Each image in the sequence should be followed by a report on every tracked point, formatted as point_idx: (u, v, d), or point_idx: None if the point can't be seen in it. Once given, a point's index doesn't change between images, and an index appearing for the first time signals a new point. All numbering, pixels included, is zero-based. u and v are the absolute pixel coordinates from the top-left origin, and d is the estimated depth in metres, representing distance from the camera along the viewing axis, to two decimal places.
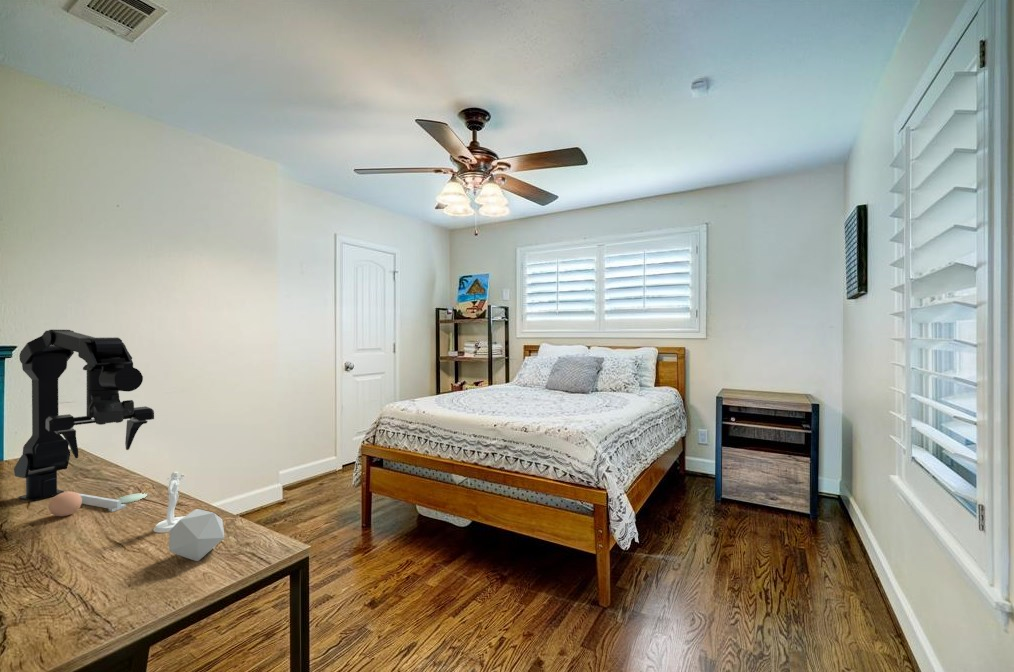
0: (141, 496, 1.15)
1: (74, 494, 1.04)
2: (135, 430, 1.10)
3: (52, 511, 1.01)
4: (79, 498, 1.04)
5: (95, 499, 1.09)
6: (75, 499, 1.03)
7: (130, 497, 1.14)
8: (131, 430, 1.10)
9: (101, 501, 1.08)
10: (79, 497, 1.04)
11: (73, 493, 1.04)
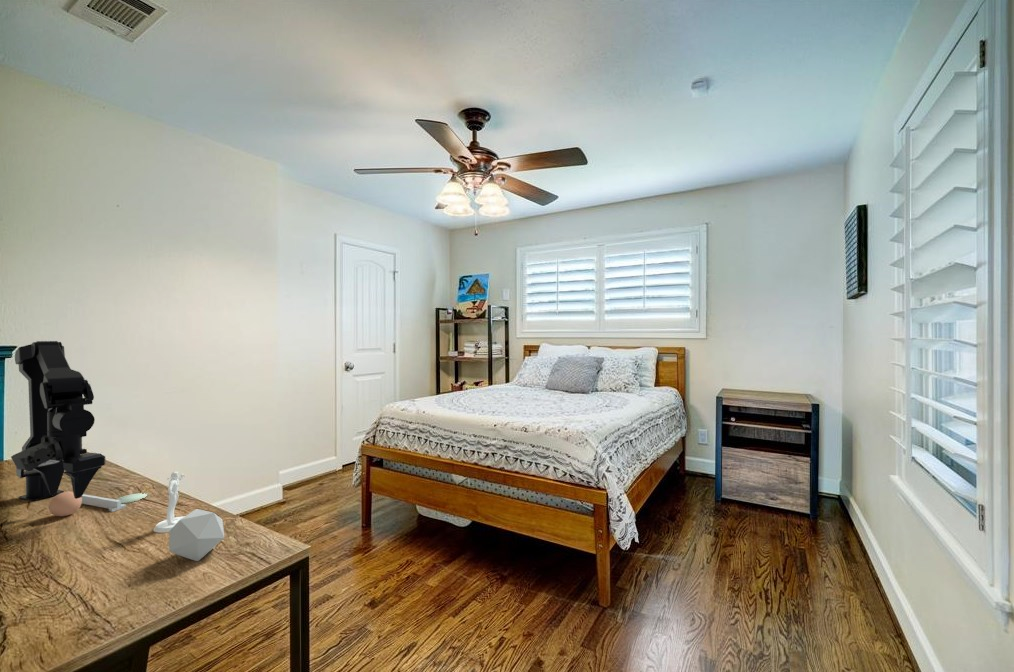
0: (141, 496, 1.15)
1: None
2: (73, 479, 1.00)
3: (52, 511, 1.01)
4: (79, 498, 1.04)
5: (95, 499, 1.09)
6: (75, 499, 1.03)
7: (130, 497, 1.14)
8: (71, 478, 1.00)
9: (101, 501, 1.08)
10: None
11: None
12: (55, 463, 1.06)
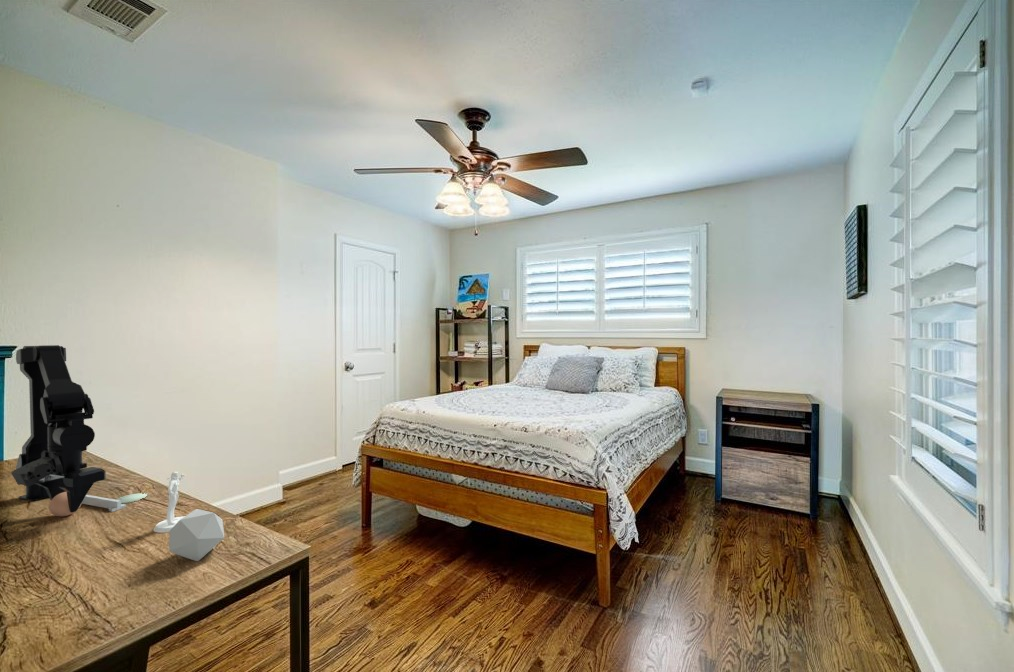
0: (141, 496, 1.15)
1: None
2: (69, 493, 1.01)
3: (52, 511, 1.01)
4: None
5: (95, 499, 1.09)
6: None
7: (130, 497, 1.14)
8: (67, 492, 1.01)
9: (101, 501, 1.08)
10: None
11: None
12: (60, 478, 1.05)
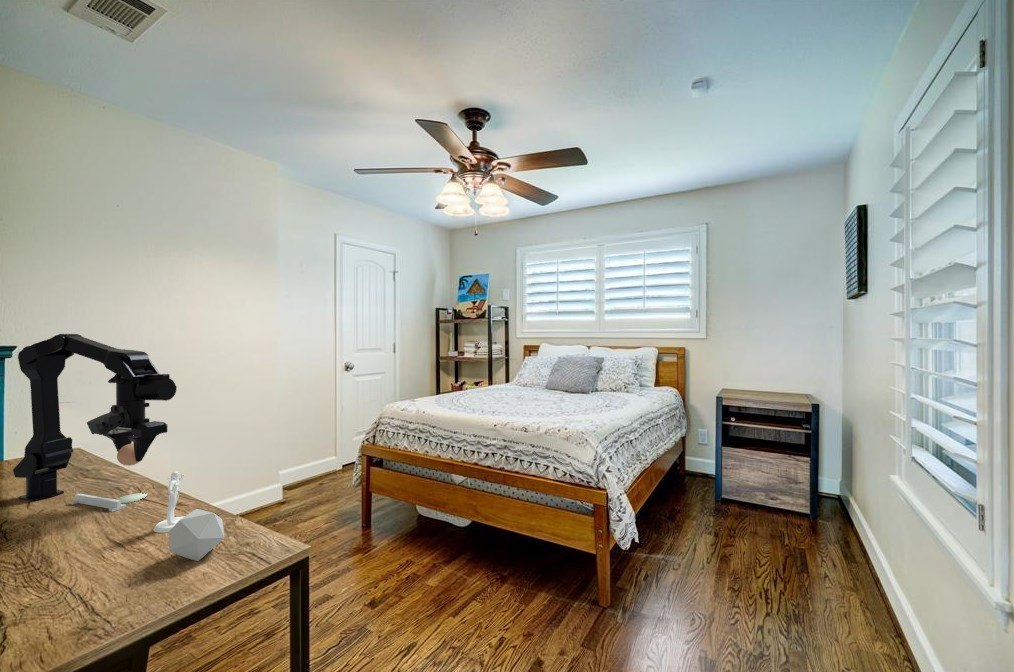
0: (141, 496, 1.15)
1: None
2: (135, 444, 1.11)
3: (120, 460, 1.11)
4: None
5: (95, 499, 1.09)
6: None
7: (130, 497, 1.14)
8: (133, 443, 1.11)
9: (101, 501, 1.08)
10: None
11: None
12: (125, 432, 1.16)
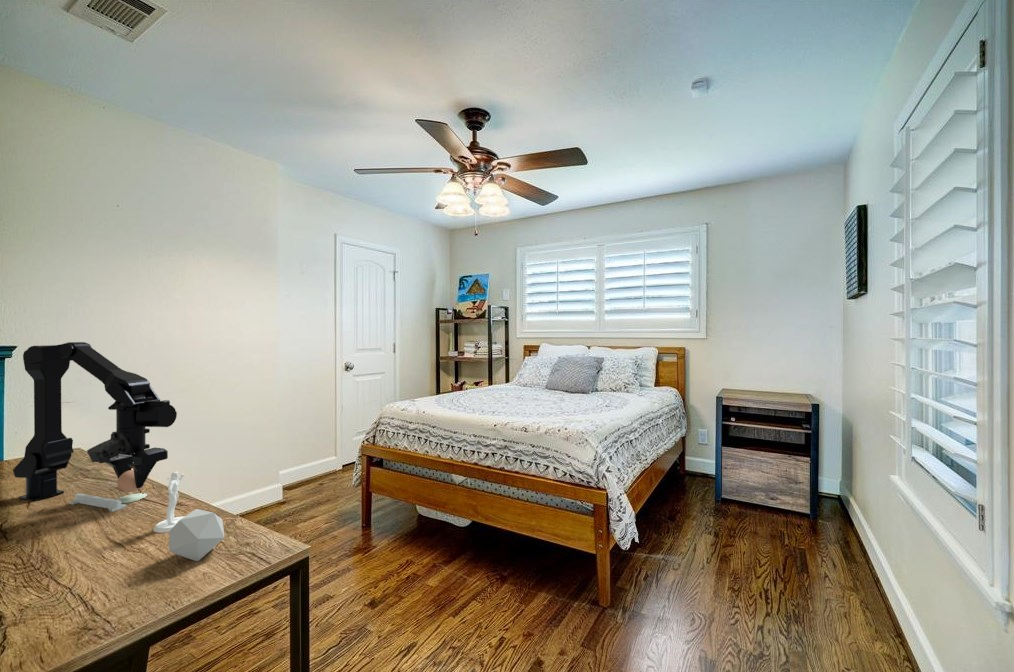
0: (141, 496, 1.15)
1: None
2: (136, 471, 1.11)
3: (120, 487, 1.11)
4: None
5: (95, 499, 1.09)
6: None
7: (130, 497, 1.14)
8: (134, 470, 1.11)
9: (101, 501, 1.08)
10: None
11: None
12: (125, 458, 1.16)
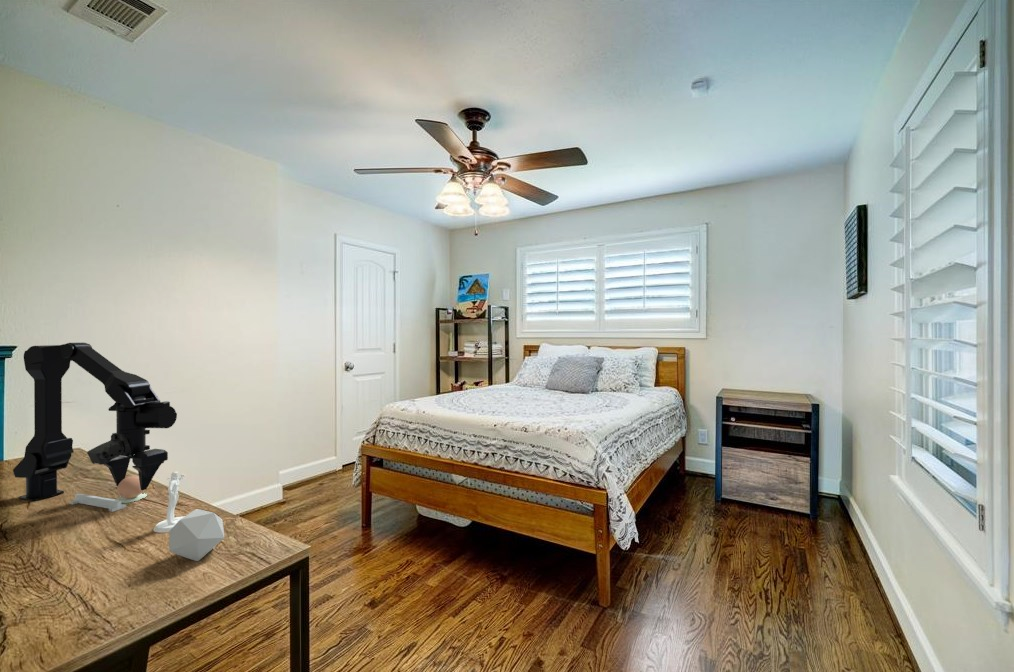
0: (141, 496, 1.15)
1: None
2: (140, 473, 1.11)
3: (121, 493, 1.11)
4: None
5: (95, 499, 1.09)
6: None
7: None
8: (138, 472, 1.11)
9: (101, 501, 1.08)
10: None
11: (138, 477, 1.14)
12: (121, 458, 1.16)
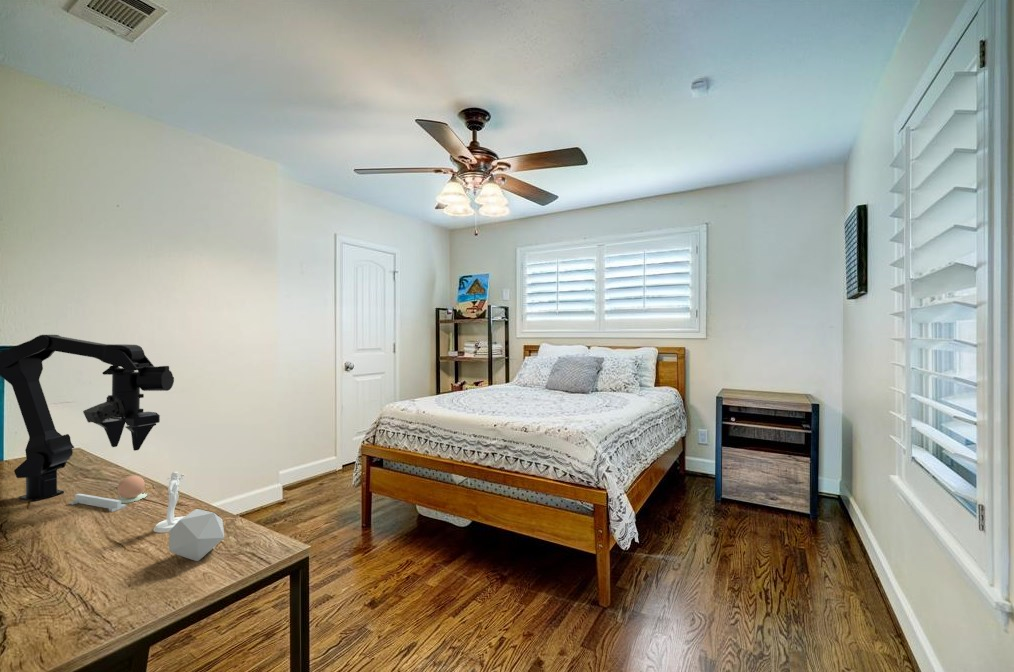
0: (141, 496, 1.15)
1: (139, 478, 1.14)
2: (133, 433, 1.16)
3: (120, 493, 1.11)
4: (143, 482, 1.15)
5: (95, 499, 1.09)
6: (140, 482, 1.14)
7: None
8: (131, 433, 1.16)
9: (101, 501, 1.08)
10: (143, 481, 1.15)
11: (138, 477, 1.14)
12: (116, 420, 1.22)
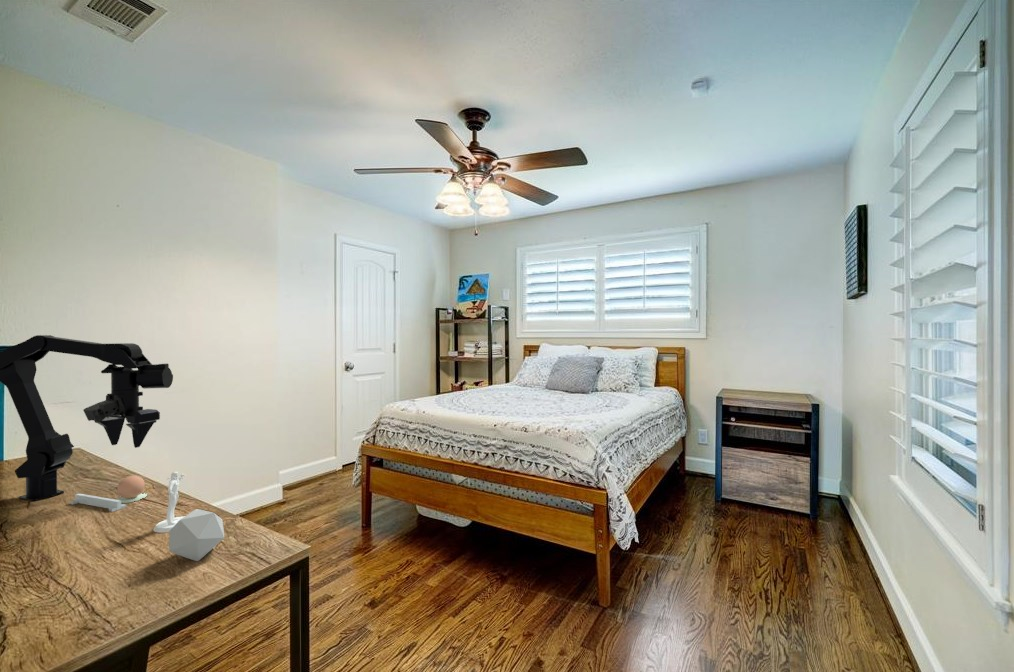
0: (141, 496, 1.15)
1: (138, 478, 1.14)
2: (134, 431, 1.17)
3: (120, 493, 1.11)
4: (143, 482, 1.15)
5: (95, 499, 1.09)
6: (139, 482, 1.14)
7: None
8: (132, 430, 1.17)
9: (101, 501, 1.08)
10: (143, 481, 1.15)
11: (137, 477, 1.14)
12: (115, 419, 1.23)
